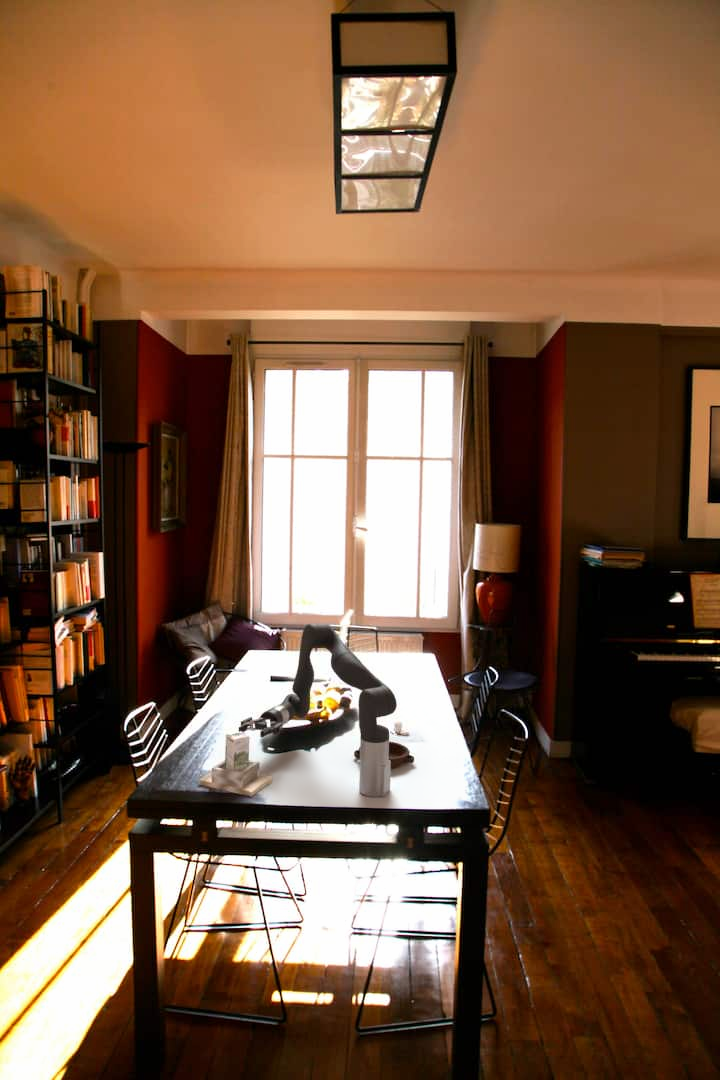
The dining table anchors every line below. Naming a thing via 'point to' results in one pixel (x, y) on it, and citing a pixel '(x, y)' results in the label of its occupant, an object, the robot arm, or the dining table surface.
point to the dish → (395, 754)
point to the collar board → (236, 779)
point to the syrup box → (237, 751)
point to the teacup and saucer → (399, 729)
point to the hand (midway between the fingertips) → (250, 732)
